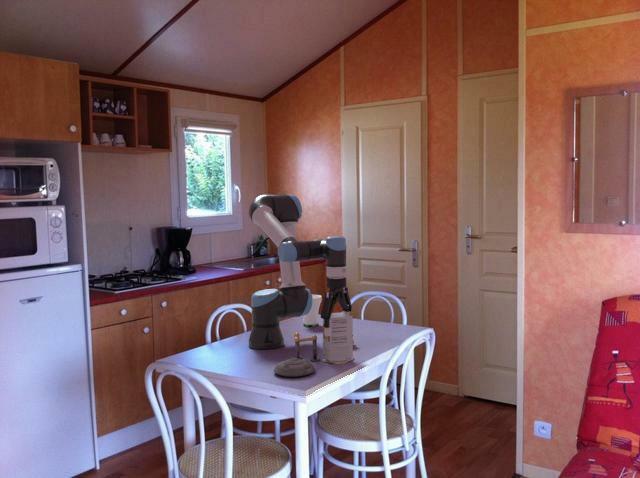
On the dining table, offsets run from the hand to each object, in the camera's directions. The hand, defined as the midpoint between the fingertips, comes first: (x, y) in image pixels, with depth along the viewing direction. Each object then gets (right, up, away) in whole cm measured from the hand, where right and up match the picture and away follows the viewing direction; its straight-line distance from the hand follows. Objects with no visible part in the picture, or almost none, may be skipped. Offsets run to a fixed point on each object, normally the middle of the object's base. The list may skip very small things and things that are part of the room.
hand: (336, 331), depth 234 cm
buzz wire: (-13, -11, +1) cm, 18 cm away
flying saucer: (-16, -13, -14) cm, 25 cm away
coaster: (+1, -11, 0) cm, 11 cm away
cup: (-11, -7, +63) cm, 64 cm away
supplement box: (0, -10, 0) cm, 10 cm away
